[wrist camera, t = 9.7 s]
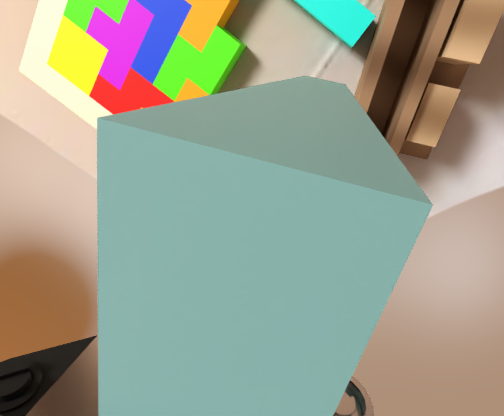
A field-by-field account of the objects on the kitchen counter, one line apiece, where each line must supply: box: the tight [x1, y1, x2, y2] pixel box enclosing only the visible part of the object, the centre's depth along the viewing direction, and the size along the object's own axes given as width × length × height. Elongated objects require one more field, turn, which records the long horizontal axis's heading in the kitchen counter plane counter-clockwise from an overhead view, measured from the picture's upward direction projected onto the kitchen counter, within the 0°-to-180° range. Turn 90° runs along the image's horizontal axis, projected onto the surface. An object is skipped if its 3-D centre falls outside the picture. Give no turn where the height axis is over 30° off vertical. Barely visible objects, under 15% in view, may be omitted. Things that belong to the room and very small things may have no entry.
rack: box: [354, 0, 469, 159], centre depth 30 cm, size 16×9×6 cm, turn 168°
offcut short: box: [405, 83, 461, 147], centre depth 31 cm, size 5×3×4 cm, turn 168°
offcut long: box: [436, 0, 504, 65], centre depth 27 cm, size 6×3×6 cm, turn 168°
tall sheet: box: [97, 76, 433, 416], centre depth 12 cm, size 12×2×16 cm, turn 168°
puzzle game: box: [19, 0, 376, 129], centre depth 35 cm, size 30×3×30 cm
